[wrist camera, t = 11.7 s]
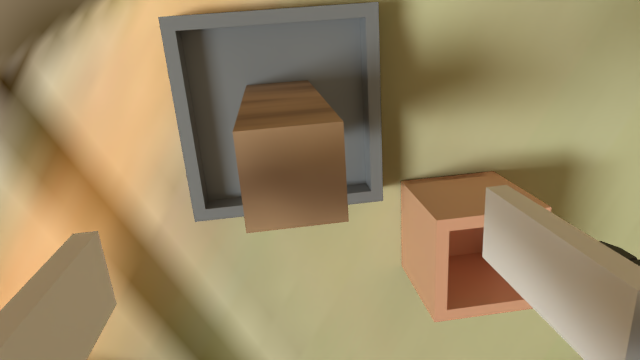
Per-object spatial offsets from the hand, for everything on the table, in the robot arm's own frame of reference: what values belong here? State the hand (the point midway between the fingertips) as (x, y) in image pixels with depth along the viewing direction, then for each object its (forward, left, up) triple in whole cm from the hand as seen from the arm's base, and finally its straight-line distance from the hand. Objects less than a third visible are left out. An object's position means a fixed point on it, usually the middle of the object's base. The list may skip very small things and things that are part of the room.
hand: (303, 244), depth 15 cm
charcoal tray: (0, 0, -24) cm, 24 cm away
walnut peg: (0, 0, -23) cm, 23 cm away
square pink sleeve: (-12, -15, -24) cm, 31 cm away
